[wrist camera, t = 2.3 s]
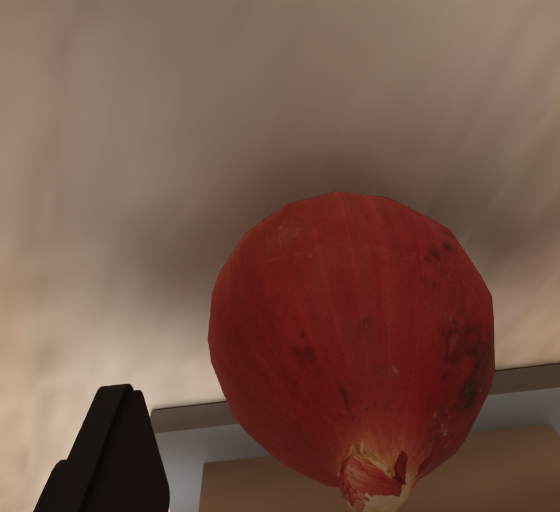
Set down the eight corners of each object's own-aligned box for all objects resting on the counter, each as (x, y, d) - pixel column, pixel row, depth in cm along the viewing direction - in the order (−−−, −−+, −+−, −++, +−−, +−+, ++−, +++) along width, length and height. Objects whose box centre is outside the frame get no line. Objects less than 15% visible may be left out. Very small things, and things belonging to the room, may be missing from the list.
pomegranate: (420, 124, 13) (622, 298, 6) (440, 313, 16) (594, 590, 8) (193, 178, 13) (124, 401, 6) (250, 353, 16) (246, 650, 9)
